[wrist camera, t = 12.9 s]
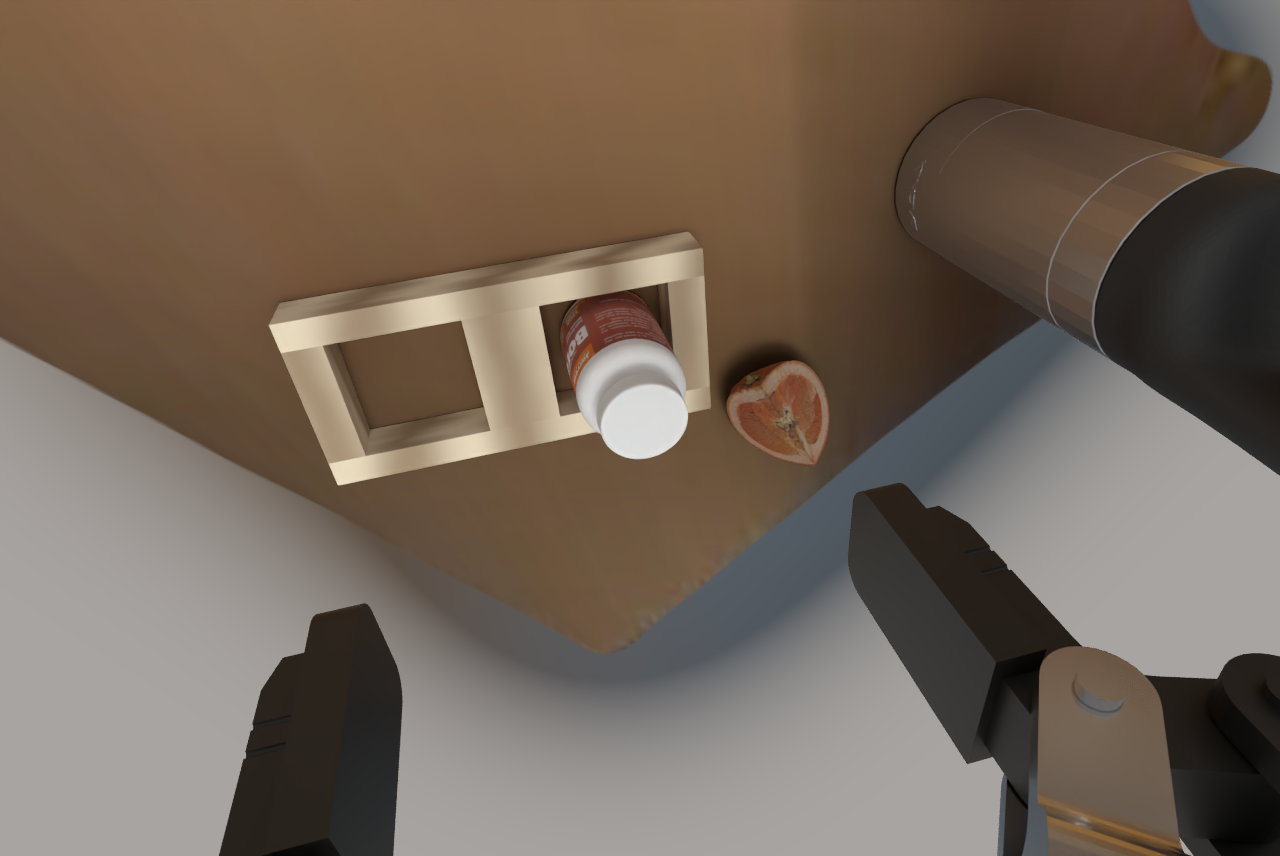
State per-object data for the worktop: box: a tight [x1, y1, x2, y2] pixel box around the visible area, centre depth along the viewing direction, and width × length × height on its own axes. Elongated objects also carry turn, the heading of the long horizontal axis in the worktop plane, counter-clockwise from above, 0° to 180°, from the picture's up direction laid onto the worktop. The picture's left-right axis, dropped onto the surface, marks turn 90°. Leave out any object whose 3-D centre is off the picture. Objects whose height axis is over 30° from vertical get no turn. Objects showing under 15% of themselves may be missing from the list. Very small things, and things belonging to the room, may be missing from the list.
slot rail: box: [269, 231, 711, 485], centre depth 44 cm, size 24×11×3 cm, turn 97°
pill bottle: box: [560, 290, 688, 459], centre depth 42 cm, size 6×6×11 cm
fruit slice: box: [727, 360, 830, 465], centre depth 49 cm, size 8×7×5 cm
